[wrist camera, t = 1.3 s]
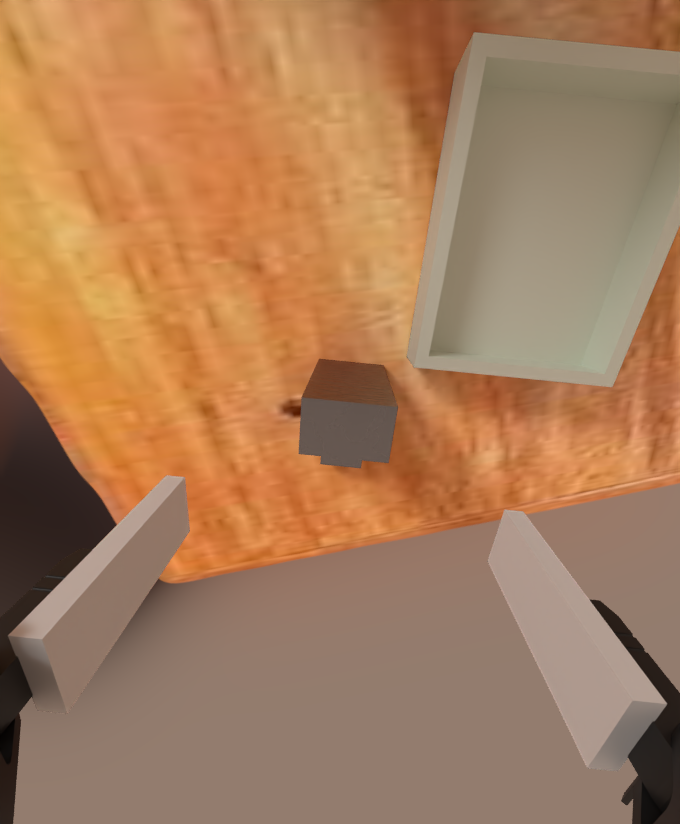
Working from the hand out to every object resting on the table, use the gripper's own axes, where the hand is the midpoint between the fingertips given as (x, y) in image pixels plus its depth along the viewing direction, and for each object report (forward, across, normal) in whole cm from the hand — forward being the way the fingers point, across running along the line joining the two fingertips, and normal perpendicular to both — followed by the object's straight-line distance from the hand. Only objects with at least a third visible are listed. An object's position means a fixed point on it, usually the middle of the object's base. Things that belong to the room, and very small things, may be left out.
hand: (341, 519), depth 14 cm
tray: (+19, +13, +14) cm, 27 cm away
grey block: (+19, 0, -3) cm, 19 cm away
